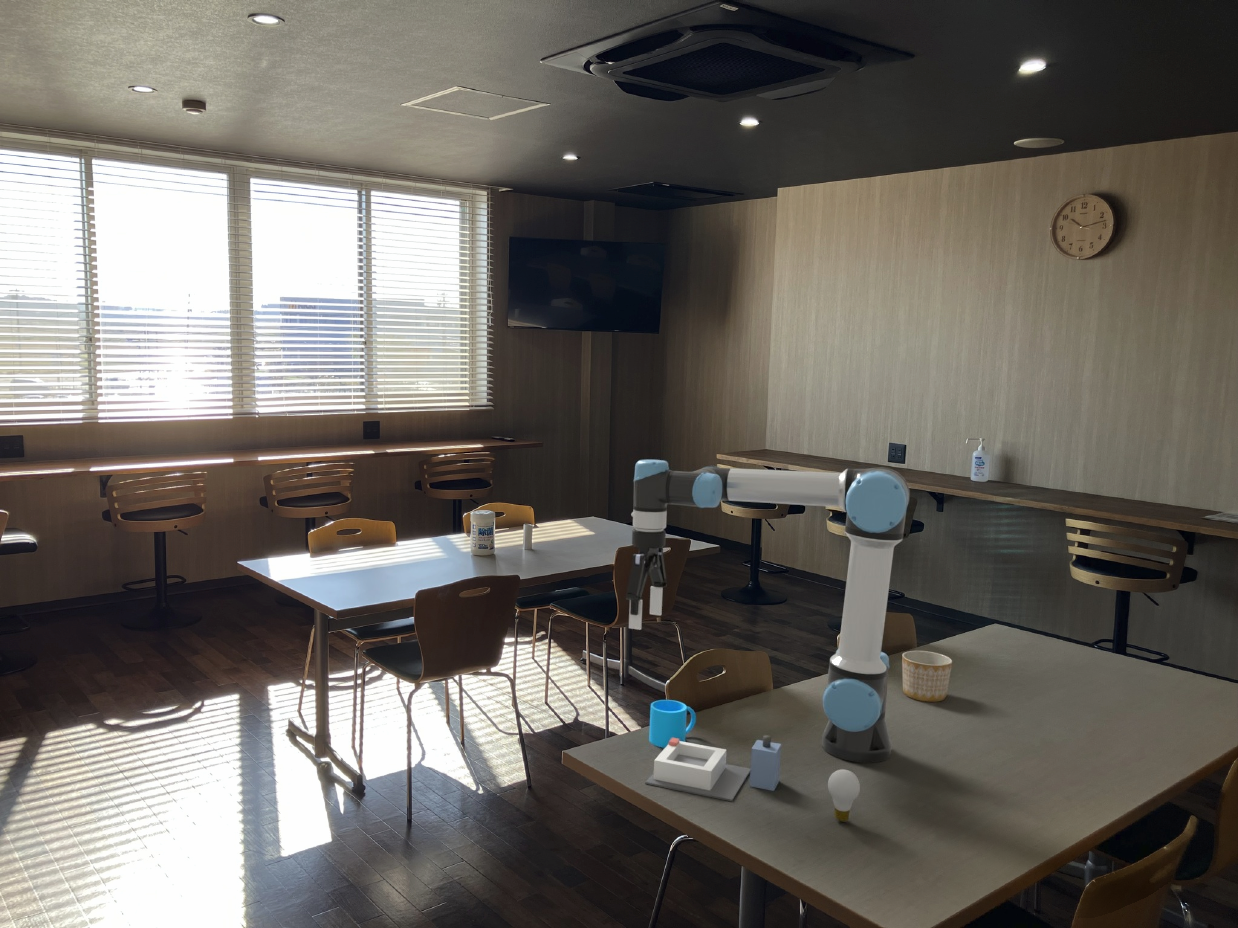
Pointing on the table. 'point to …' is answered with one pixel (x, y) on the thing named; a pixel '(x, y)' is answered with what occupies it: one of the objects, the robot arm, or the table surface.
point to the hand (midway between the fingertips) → (645, 621)
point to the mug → (669, 722)
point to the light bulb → (843, 792)
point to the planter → (926, 675)
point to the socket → (697, 770)
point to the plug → (765, 764)
